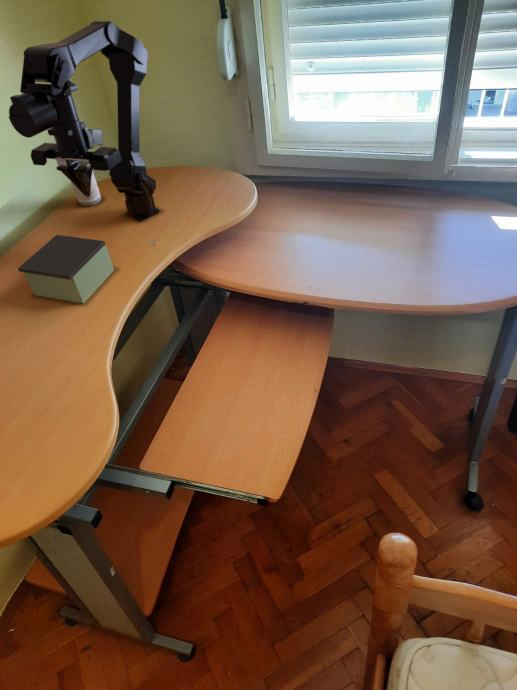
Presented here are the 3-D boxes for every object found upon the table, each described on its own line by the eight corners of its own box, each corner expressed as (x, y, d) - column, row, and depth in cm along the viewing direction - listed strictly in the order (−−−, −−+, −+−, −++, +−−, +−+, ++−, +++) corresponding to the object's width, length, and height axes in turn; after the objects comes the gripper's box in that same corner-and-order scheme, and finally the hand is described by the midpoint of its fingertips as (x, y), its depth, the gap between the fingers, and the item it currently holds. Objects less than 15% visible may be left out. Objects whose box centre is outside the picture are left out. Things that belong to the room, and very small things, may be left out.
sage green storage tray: (83, 303, 96) (72, 277, 91) (34, 295, 99) (21, 269, 95) (114, 270, 104) (105, 244, 100) (68, 263, 108) (57, 237, 103)
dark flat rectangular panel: (70, 279, 91) (69, 276, 90) (19, 271, 94) (17, 268, 94) (105, 244, 100) (104, 240, 99) (57, 237, 103) (56, 234, 102)
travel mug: (96, 207, 127) (71, 131, 113) (75, 206, 128) (47, 131, 114) (106, 196, 132) (83, 122, 118) (85, 195, 133) (60, 122, 119)
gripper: (125, 110, 95) (142, 183, 106) (50, 106, 100) (73, 177, 111) (95, 128, 88) (117, 205, 98) (15, 123, 92) (44, 197, 103)
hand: (87, 195), depth 103 cm, fingers closed
